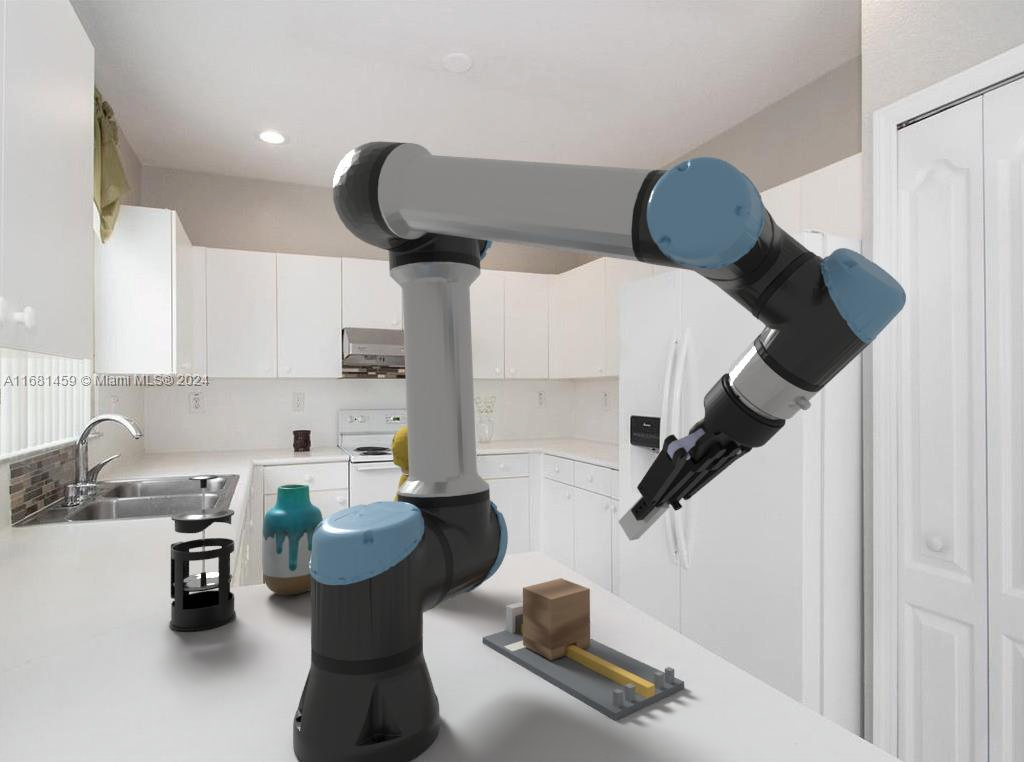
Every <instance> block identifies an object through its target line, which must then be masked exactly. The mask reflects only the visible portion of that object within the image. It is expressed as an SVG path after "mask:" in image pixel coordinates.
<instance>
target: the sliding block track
mask: <svg viewBox="0 0 1024 762" xmlns="http://www.w3.org/2000/svg"><path fill="white" fill-rule="evenodd" d="M482 644H484V645H485V646H487V647H489V648H491V649H492V650H494V651H496V652H498V653H499V654H501V655H503V656H504V657H506V658H508V659H510V660H511V661H513V662H514V663H516V664H518V665H520V666H522V667H523V668H525V669H527V670H529V671H530V672H531V673H533V674H535V675H537V676H538V677H540V678H542V679H543V680H545V681H547V682H549V683H551V684H552V685H554V686H556V687H558V688H559V689H561V691H564V692H566V693H568V694H569V695H571V696H573V697H574V698H576V699H577V700H580V701H581V702H583V703H585V704H586V705H588V706H590V707H591V708H593V709H594V710H596V711H598V712H600V713H602V714H603V715H605V716H607V717H608V718H610V719H611V720H613V721H618V720H619V719H622V718H624V717H626V716H628V715H630V714H632V713H635V712H638V711H639V710H641V709H643V708H645V707H648V706H651V704H654V703H656V702H658V701H660V700H662V699H665V698H667V697H668V696H671V695H673V694H675V693H679V691H681V690H684V689H685V681H684V680H682V679H679V678H677V677H675V669H674V668H673V667H670V666H667V667H665V668H664V671H662V670H660V669H658V668H655V667H653V666H650V665H649V664H646V663H645V662H643V661H640V660H638V659H635V658H633V656H629V655H627V654H625V653H623V652H621V651H618V650H616V649H614V648H612V647H609V646H607V645H605V644H603V643H601V642H599V641H596V640H594V639H593V638H590V647H588V648H585V649H581V648H579V647H576V646H574V645H572V644H569V645H566V655H565V656H563V657H560V658H557V659H554V660H549V659H548V658H546V657H544V656H542V655H540V654H538V653H537V652H535V651H533V650H531V649H529V648H527V647H525V646H524V645H523V600H522V601H519V602H515V603H512V604H507V605H506V606H505V630H503V631H499V632H496V633H492V634H489V635H486V636H482Z"/></svg>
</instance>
